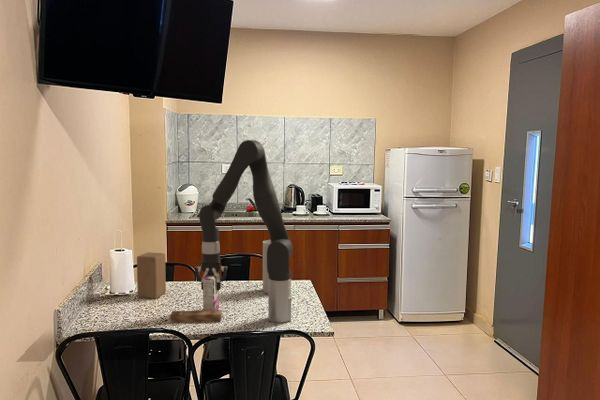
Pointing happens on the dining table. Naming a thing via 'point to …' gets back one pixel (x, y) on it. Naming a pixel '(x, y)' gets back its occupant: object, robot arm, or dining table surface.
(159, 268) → the wooden block
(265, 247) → the cylinder vase
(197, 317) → the guide board
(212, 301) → the candy bar box
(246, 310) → the dining table surface
